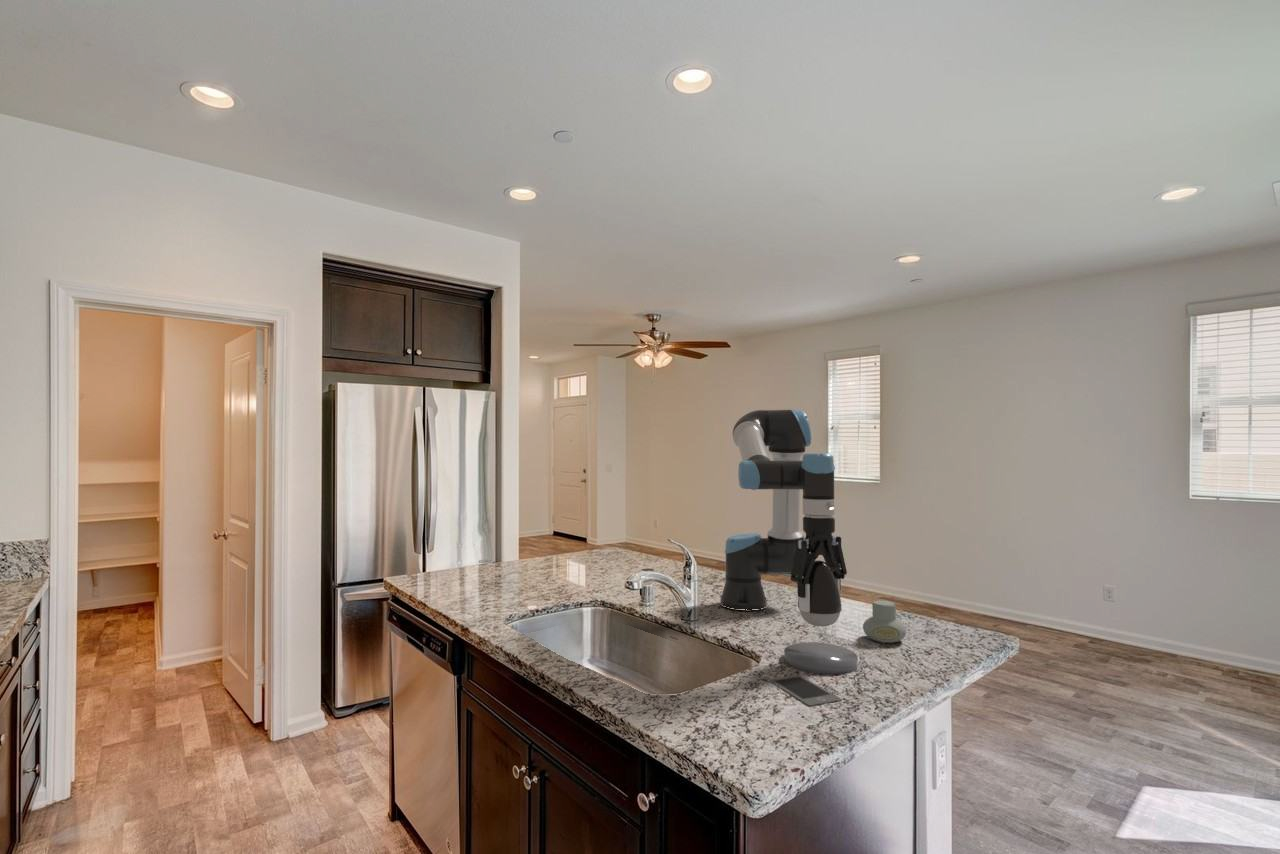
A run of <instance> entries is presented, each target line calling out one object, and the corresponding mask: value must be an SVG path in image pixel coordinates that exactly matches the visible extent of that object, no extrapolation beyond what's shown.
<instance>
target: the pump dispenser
mask: <svg viewBox="0 0 1280 854" xmlns="http://www.w3.org/2000/svg"><path fill="white" fill-rule="evenodd" d="M839 568H840V569H841V565H840V564H836V565H833V566H830V567H829V565H828V564H827V563H826V562H825V561H824V560H821V559H820V560H819V559H818V560H817V559H816V560H815V562H814V565H813V567H812V570H811V573H810V576H809V578H808V581H807V584H810V612H805V611H801V610H799V613H800V615H801V617H802V619H803V620H804V621H805V622H806V623H807V624H810V625H811V626H814V627H815V626H816V627H829V626H831V625H833V624H835V623H836V622H837V621H838V619H839V617H840V614H841V613H842V611H843V609H842V607H843V606H842V599H841V591H840V592H839V588H838V585H837V582H836V579H835V577H834V574H833V571H835V570H837V569H839ZM797 599H798V600H797V608H798V609H799V597H798V598H797Z"/></svg>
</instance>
